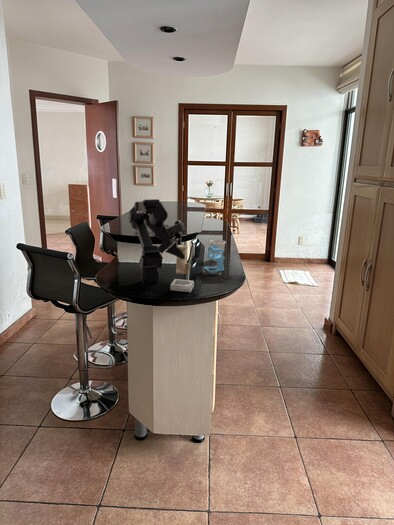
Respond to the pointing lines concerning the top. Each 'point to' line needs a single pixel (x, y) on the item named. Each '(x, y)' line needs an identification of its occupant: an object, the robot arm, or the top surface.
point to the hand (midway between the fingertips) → (185, 256)
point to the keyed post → (182, 261)
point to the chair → (216, 257)
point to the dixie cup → (217, 245)
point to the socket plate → (182, 285)
